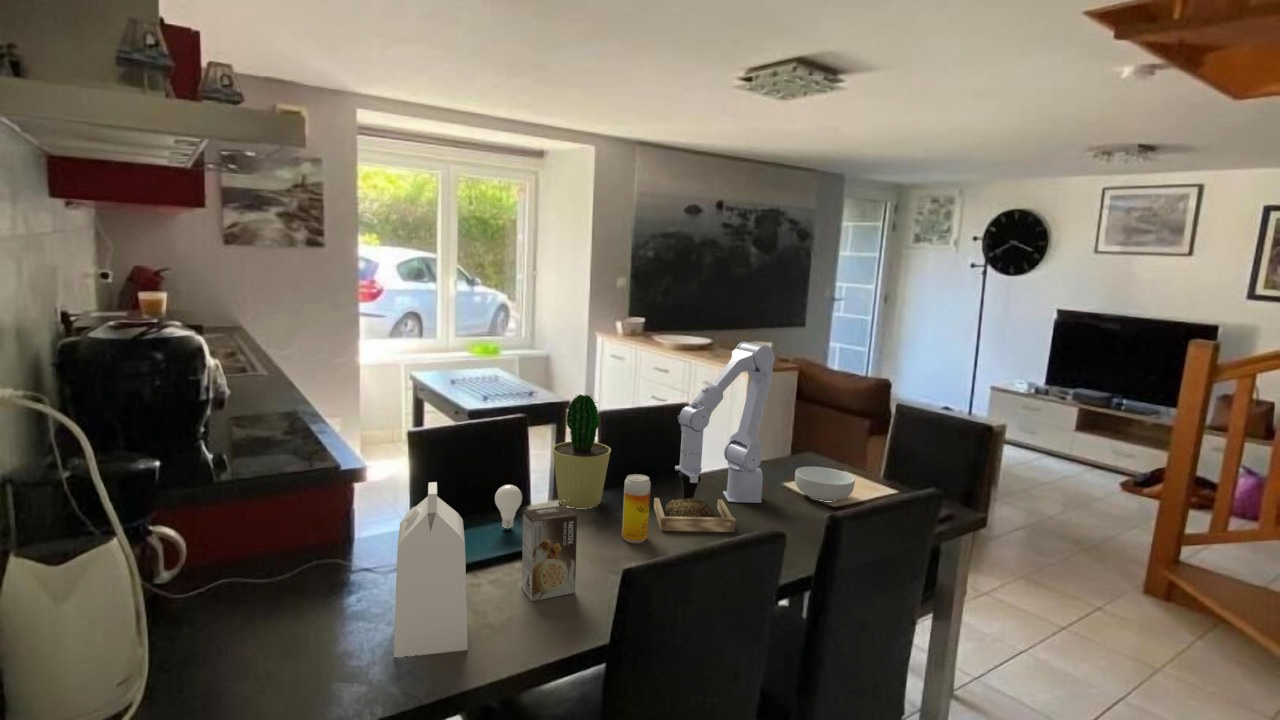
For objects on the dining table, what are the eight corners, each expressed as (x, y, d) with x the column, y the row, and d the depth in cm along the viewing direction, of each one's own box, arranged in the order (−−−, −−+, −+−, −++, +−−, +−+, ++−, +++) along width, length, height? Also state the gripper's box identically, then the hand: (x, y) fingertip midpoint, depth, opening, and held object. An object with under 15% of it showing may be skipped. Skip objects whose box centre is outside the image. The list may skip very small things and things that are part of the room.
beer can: (647, 544, 159) (650, 482, 157) (621, 543, 159) (624, 481, 157) (647, 534, 165) (651, 474, 163) (622, 533, 165) (625, 472, 163)
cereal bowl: (860, 510, 190) (862, 485, 189) (800, 506, 191) (802, 482, 189) (843, 489, 207) (845, 467, 206) (788, 486, 207) (790, 464, 206)
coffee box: (563, 579, 140) (566, 504, 138) (575, 593, 134) (579, 515, 132) (520, 587, 136) (522, 509, 133) (530, 602, 130) (533, 521, 128)
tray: (721, 508, 186) (722, 497, 185) (734, 532, 170) (735, 519, 169) (653, 506, 184) (654, 495, 184) (660, 530, 168) (661, 518, 168)
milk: (467, 649, 113) (470, 498, 110) (393, 658, 110) (393, 502, 106) (464, 613, 125) (466, 475, 121) (397, 619, 121) (397, 477, 118)
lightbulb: (488, 531, 162) (489, 486, 160) (503, 522, 168) (504, 479, 166) (511, 537, 159) (513, 491, 158) (526, 527, 165) (527, 483, 164)
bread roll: (671, 525, 173) (672, 506, 172) (661, 507, 185) (662, 489, 184) (720, 524, 175) (721, 506, 174) (707, 507, 187) (709, 489, 186)
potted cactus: (619, 500, 187) (624, 392, 183) (586, 517, 174) (591, 401, 170) (573, 488, 195) (578, 384, 191) (538, 503, 182) (542, 392, 178)
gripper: (672, 443, 190) (669, 490, 192) (680, 458, 176) (676, 509, 178) (698, 444, 191) (694, 491, 192) (707, 459, 176) (703, 510, 178)
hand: (688, 500), depth 185 cm, fingers closed
